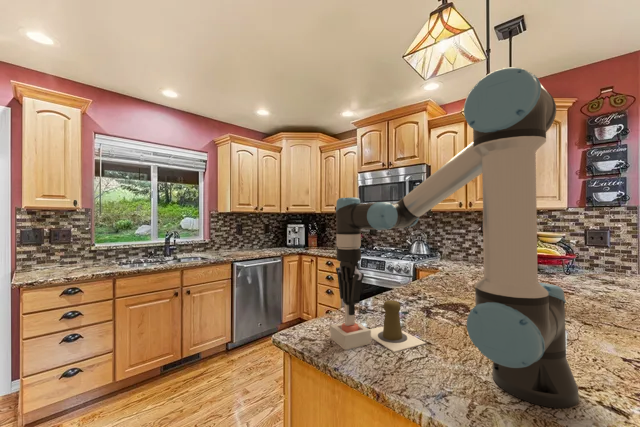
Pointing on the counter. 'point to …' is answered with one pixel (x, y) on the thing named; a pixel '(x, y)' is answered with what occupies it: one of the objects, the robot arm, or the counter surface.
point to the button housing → (350, 336)
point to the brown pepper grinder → (392, 321)
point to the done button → (349, 328)
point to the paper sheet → (396, 345)
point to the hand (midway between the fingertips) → (349, 324)
